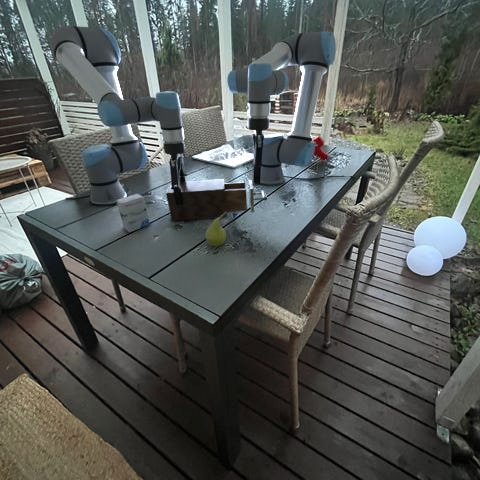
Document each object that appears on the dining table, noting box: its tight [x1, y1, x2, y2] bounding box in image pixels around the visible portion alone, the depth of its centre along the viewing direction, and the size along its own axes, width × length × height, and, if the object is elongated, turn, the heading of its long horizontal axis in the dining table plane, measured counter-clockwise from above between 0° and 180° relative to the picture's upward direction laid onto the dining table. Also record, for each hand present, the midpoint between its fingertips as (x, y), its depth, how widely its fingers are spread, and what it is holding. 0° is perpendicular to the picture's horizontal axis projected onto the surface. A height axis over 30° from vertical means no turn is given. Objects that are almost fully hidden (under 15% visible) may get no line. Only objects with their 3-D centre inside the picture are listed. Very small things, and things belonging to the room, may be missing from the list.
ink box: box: [116, 193, 151, 233], centre depth 100 cm, size 8×5×12 cm, turn 135°
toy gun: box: [312, 135, 329, 163], centre depth 172 cm, size 18×4×15 cm
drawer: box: [224, 179, 268, 213], centre depth 109 cm, size 26×10×10 cm, turn 92°
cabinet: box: [165, 178, 228, 222], centre depth 109 cm, size 22×11×12 cm, turn 92°
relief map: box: [192, 143, 253, 169], centre depth 179 cm, size 27×35×5 cm
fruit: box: [204, 211, 227, 248], centre depth 90 cm, size 7×8×12 cm
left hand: (181, 198), depth 108 cm, fingers closed on cabinet, 11 cm apart
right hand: (256, 182), depth 106 cm, fingers closed
